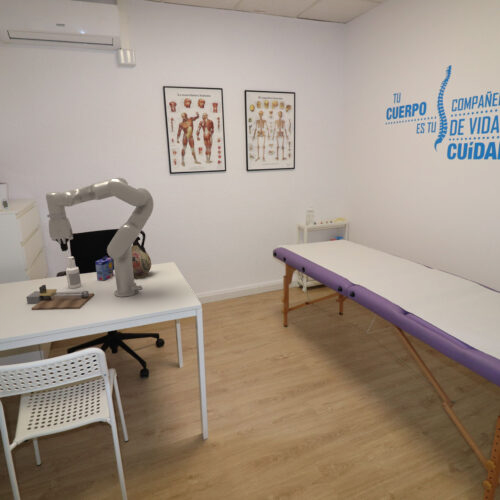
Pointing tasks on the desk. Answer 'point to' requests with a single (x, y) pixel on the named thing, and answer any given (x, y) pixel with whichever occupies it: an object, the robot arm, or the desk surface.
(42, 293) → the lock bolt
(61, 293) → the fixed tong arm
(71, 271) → the spray bottle
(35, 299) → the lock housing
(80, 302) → the tong board
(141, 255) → the ceramic jug
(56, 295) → the tong arm
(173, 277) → the desk surface
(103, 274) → the ink cartridge box
